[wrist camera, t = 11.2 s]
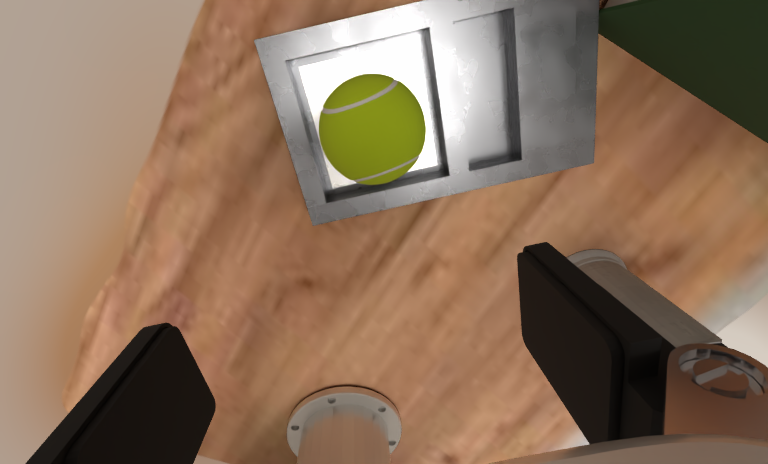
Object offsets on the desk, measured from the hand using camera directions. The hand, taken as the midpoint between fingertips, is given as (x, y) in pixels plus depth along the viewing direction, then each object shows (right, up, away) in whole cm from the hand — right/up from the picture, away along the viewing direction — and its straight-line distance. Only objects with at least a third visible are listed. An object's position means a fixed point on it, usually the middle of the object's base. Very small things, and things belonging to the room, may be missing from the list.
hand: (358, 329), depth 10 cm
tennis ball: (0, +11, +18) cm, 21 cm away
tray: (+4, +12, +18) cm, 22 cm away
